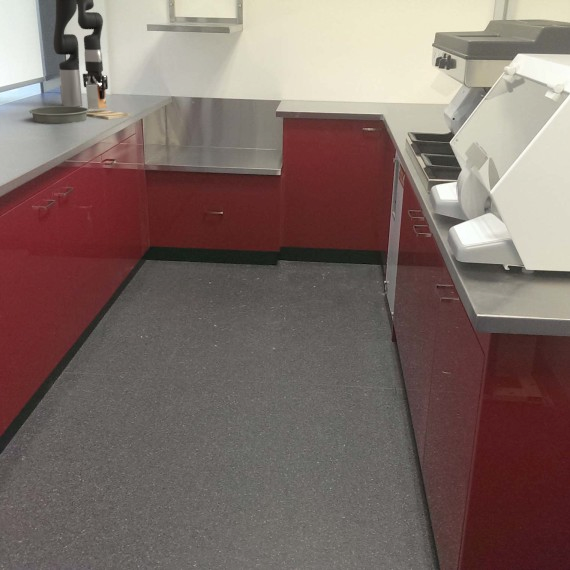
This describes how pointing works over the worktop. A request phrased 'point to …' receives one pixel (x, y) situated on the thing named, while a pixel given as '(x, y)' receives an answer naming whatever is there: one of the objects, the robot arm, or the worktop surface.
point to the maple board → (106, 114)
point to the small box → (95, 97)
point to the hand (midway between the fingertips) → (96, 98)
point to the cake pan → (59, 114)
